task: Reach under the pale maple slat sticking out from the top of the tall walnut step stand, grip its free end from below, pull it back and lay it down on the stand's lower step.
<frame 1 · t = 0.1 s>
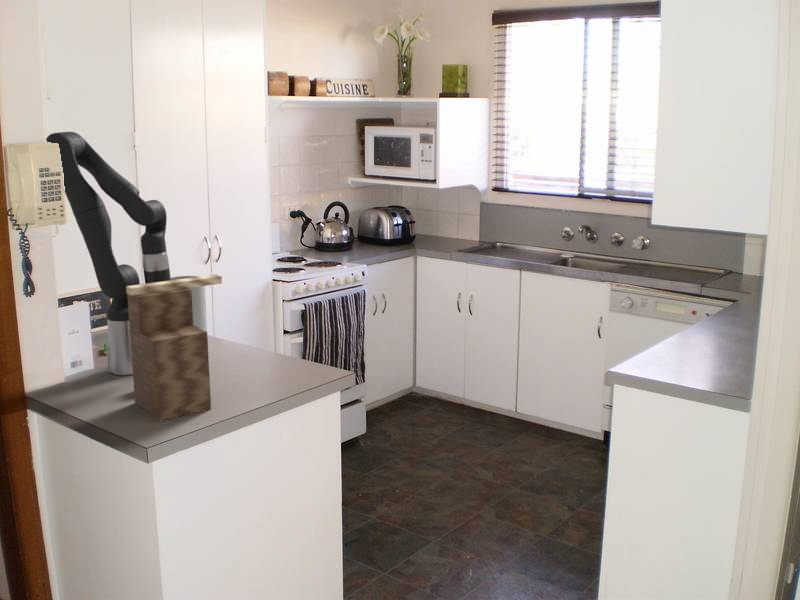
hand: (162, 320, 259), 17 cm above the countertop, tool pointing down, fingers open, 8 cm apart
cylinder vase: (188, 353, 284), on the countertop
dish sponge: (126, 352, 287), on the countertop
maple slat: (175, 288, 235), point 32 cm above the countertop, touching walnut step stand
walnut step stand: (172, 406, 236), on the countertop
supplement box: (159, 387, 252), on the countertop
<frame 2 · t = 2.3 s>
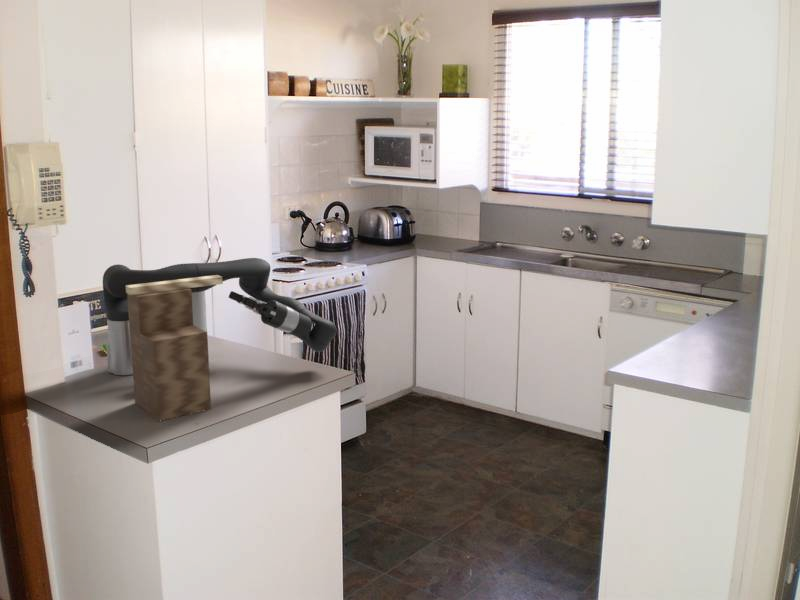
hand: (236, 297, 247), 27 cm above the countertop, tool pointing upward, fingers open, 8 cm apart
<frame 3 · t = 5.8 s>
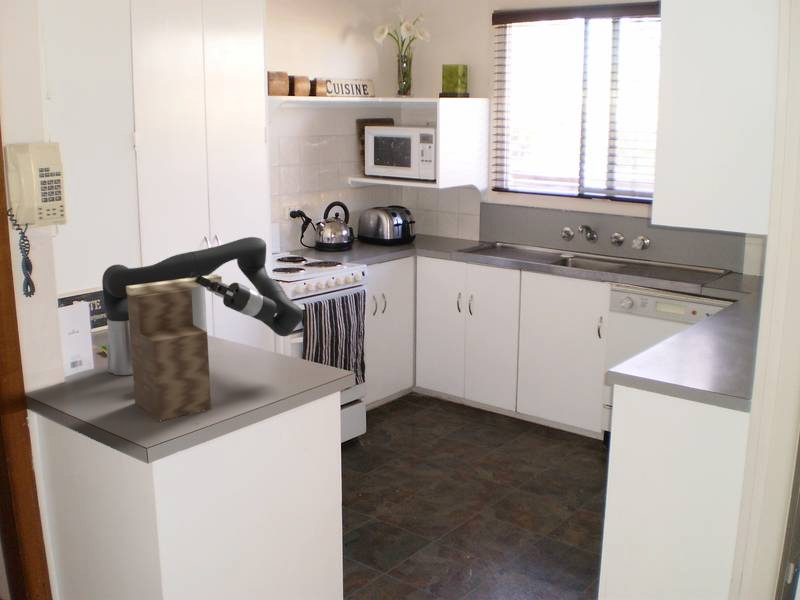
hand: (193, 277, 237), 34 cm above the countertop, tool pointing upward, fingers closed on maple slat, 3 cm apart
maple slat: (175, 288, 235), point 32 cm above the countertop, touching gripper, walnut step stand
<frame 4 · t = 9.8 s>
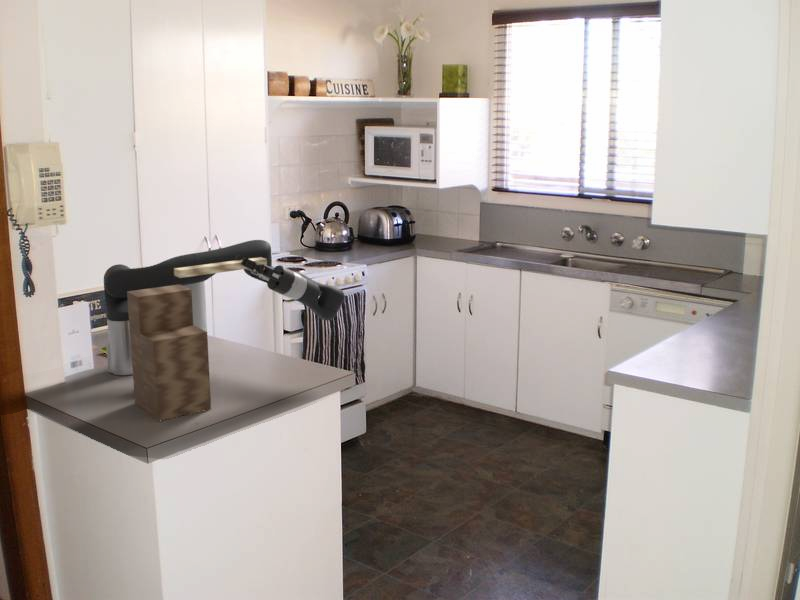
hand: (239, 259, 236), 39 cm above the countertop, tool pointing upward, fingers closed on maple slat, 3 cm apart
maple slat: (221, 270, 234), point 37 cm above the countertop, touching gripper
when the fingers open (26 cm above the countertop, at t = 13.5 s): maple slat drops 1 cm, resting on walnut step stand.
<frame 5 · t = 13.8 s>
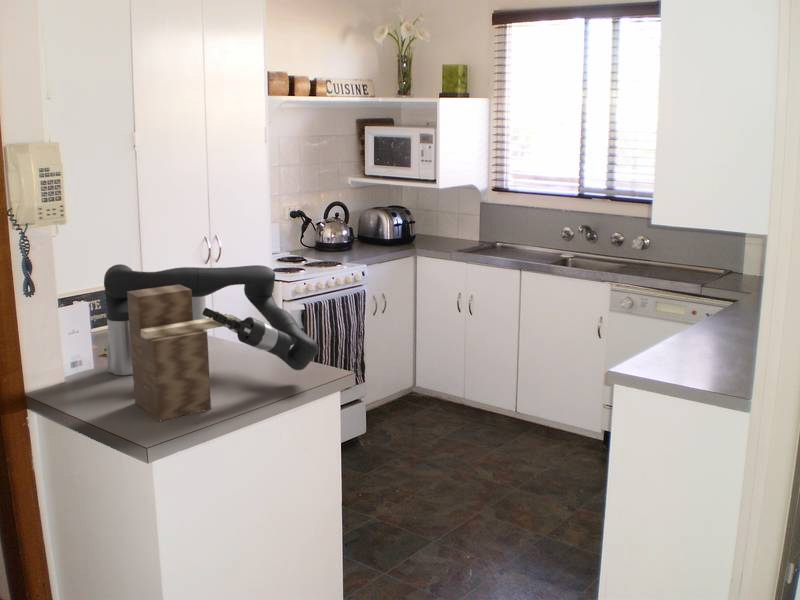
hand: (209, 313, 233), 26 cm above the countertop, tool pointing upward, fingers open, 6 cm apart
maple slat: (190, 330, 231), point 22 cm above the countertop, touching walnut step stand
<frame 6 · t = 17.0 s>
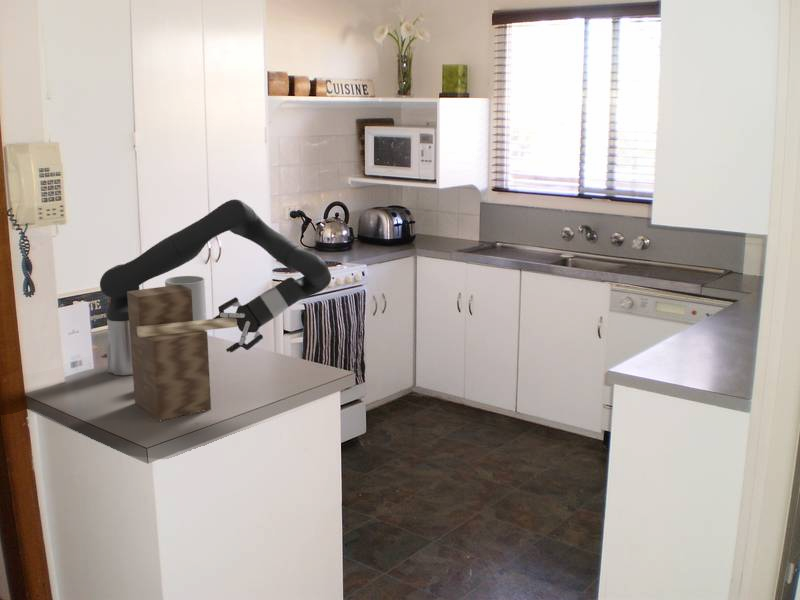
hand: (218, 338, 236), 18 cm above the countertop, tool tilted 60°, fingers open, 8 cm apart
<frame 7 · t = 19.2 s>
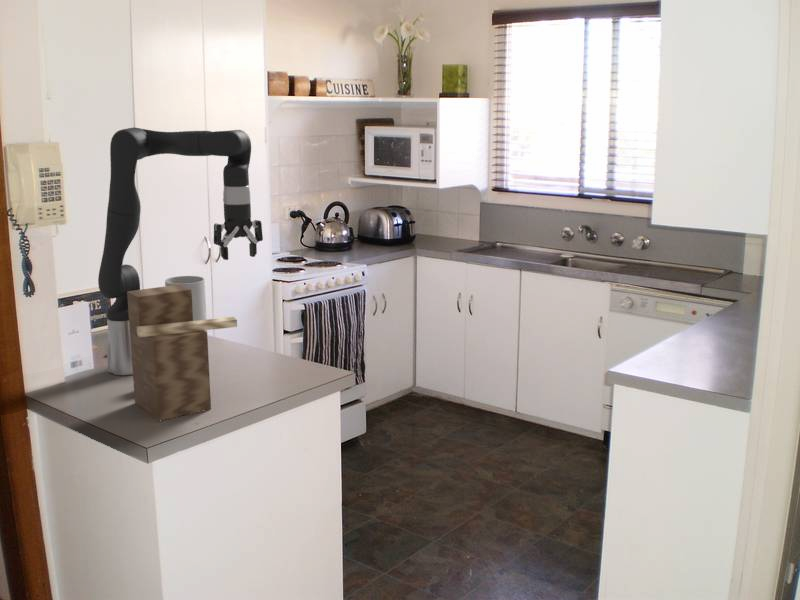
hand: (239, 257, 246), 38 cm above the countertop, tool pointing down, fingers open, 8 cm apart
at the end: maple slat inside the target area (0.6 cm from its centre), point 22.0 cm above the countertop; maple slat tilted 0°; the gripper is holding nothing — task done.
